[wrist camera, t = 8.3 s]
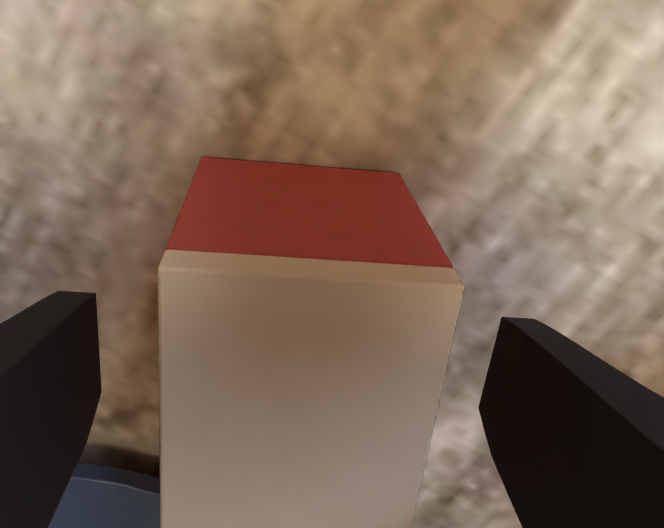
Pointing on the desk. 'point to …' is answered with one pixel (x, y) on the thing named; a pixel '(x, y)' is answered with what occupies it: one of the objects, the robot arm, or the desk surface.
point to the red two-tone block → (299, 348)
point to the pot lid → (108, 499)
